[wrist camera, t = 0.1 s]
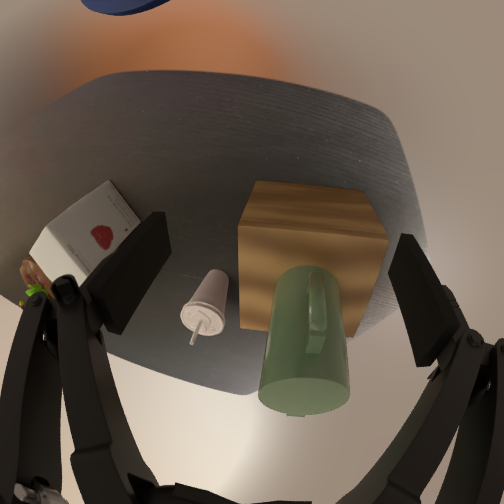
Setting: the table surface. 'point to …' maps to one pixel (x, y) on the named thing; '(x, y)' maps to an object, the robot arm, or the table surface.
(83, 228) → the rectangular carton
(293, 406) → the jug
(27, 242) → the table surface
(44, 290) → the plant
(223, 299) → the smoothie
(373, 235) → the stand
